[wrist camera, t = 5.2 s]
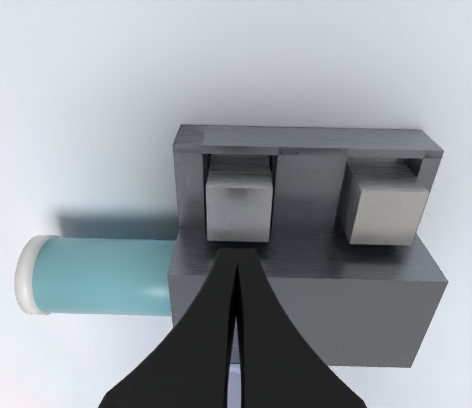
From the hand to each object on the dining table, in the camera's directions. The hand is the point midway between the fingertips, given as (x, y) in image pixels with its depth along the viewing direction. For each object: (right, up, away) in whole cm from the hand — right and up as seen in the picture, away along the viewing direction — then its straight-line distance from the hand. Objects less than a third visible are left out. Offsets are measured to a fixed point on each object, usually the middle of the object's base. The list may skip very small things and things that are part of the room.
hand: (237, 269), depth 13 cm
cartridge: (-4, 0, +9) cm, 10 cm away
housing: (+3, +2, +8) cm, 9 cm away
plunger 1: (0, +4, +6) cm, 7 cm away
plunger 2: (+7, +4, +6) cm, 10 cm away
